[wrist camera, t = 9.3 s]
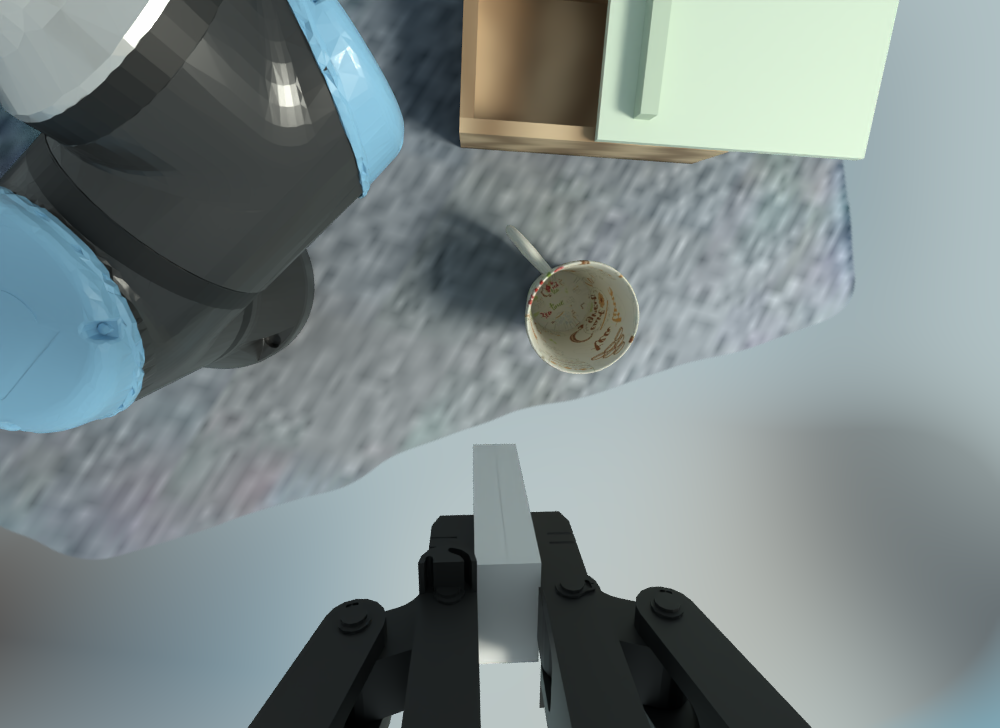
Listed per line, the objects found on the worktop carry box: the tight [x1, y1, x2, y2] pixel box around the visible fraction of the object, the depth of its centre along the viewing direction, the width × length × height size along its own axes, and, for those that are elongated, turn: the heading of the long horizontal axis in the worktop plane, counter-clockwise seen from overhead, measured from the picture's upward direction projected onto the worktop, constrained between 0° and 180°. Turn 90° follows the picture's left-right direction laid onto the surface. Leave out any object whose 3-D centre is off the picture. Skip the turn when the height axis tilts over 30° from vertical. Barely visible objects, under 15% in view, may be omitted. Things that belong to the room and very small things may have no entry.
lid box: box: [459, 0, 728, 164], centre depth 38 cm, size 20×12×6 cm, turn 87°
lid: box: [595, 0, 899, 160], centre depth 34 cm, size 20×12×2 cm, turn 87°
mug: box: [506, 225, 639, 374], centre depth 40 cm, size 8×13×10 cm, turn 41°
